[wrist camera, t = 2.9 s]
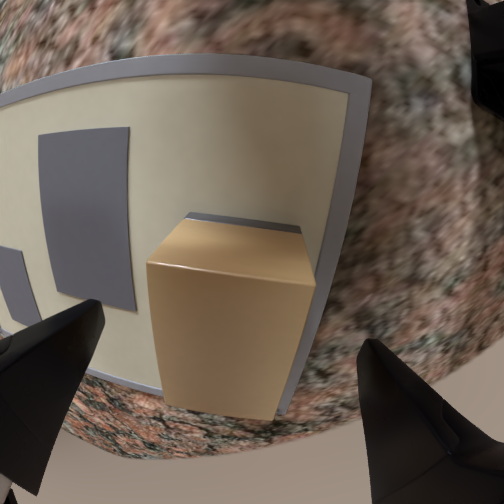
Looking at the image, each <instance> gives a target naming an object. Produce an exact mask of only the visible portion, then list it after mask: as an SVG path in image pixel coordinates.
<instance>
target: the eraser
mask: <svg viewBox="0 0 504 504" xmlns="http://www.w3.org/2000/svg"><path fill="white" fill-rule="evenodd" d="M146 273H147V286H148V296H149V306H150V315H151V323H152V331H153V338H154V345H155V352H156V358H157V364H158V370H159V375H160V381H161V386H162V391H163V396H164V401H165V404H166V405H170V406H174V407H179V408H183V409H188V410H193V411H199V412H204V413H210V414H216V415H223V416H230V417H237V418H246V419H255V420H267V421H273V420H274V417H275V415H276V412H277V409H278V406H279V404H280V401H281V398H282V395H283V393H284V390H285V387H286V384H287V381H288V378H289V375H290V372H291V369H292V366H293V363H294V360H295V357H296V354H297V351H298V348H299V345H300V341H301V338H302V335H303V332H304V328H305V325H306V322H307V318H308V315H309V311H310V308H311V304H312V301H313V297H314V294H315V290H316V286H317V285H316V281H315V277H314V274H313V270H312V266H311V263H310V259H309V256H308V252H307V248H306V245H305V241H304V238H303V235H302V231H301V228H300V226H297V225H290V224H283V223H275V222H268V221H261V220H253V219H245V218H238V217H230V216H221V215H213V214H204V213H196V212H189V213H188V214H187V215H186V216H185V217H184V219H183V220H182V221H181V222H180V223H179V224H178V225H177V226H176V227H175V228H174V229H173V231H172V232H171V233H170V234H169V235H168V236H167V237H166V238H165V240H164V241H163V242H162V243H161V244H160V245H159V246H158V248H157V249H156V250H155V251H154V252H153V253H152V255H151V256H150V257H149V258H148V259H147V261H146Z"/></svg>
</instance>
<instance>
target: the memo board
mask: <svg viewBox="0 0 504 504" xmlns="http://www.w3.org/2000/svg"><path fill="white" fill-rule="evenodd" d="M371 89H372V79H370V78H368V77H365V76H362V75H358V74H355V73H351V72H347V71H343V70H339V69H335V68H330V67H326V66H321V65H316V64H311V63H305V62H300V61H294V60H287V59H280V58H272V57H263V56H252V55H239V54H213V53H194V54H169V55H155V56H145V57H136V58H128V59H121V60H115V61H109V62H104V63H98V64H93V65H89V66H84V67H80V68H76V69H72V70H68V71H64V72H61V73H57V74H54V75H50V76H47V77H44V78H41V79H38V80H35V81H32V82H29V83H26V84H24V85H21V86H18V87H16V88H13V89H11V90H8V91H6V92H4V93H1V94H0V333H1V334H3V335H5V336H7V337H8V336H10V335H13V334H14V333H16V332H18V331H20V330H23V329H25V328H27V327H29V326H31V325H33V324H35V323H37V322H40V321H42V320H44V319H46V318H48V317H50V316H53V315H55V314H57V313H59V312H61V311H64V310H66V309H68V308H70V307H72V306H75V305H77V304H79V303H81V302H83V301H86V300H88V299H96V300H99V301H101V303H102V306H103V311H104V315H105V326H104V329H103V331H102V334H101V336H100V339H99V341H98V344H97V347H96V349H95V352H94V355H93V357H92V359H91V362H90V364H89V366H88V368H87V370H86V372H85V373H87V374H89V375H92V376H95V377H98V378H101V379H103V380H106V381H109V382H112V383H116V384H119V385H122V386H125V387H128V388H132V389H135V390H139V391H143V392H146V393H150V394H154V395H158V396H162V397H164V396H163V391H162V386H161V381H160V375H159V370H158V364H157V358H156V352H155V345H154V338H153V331H152V323H151V315H150V306H149V296H148V286H147V273H146V261H147V259H148V258H149V257H150V256H151V255H152V253H153V252H154V251H155V250H156V249H157V248H158V246H159V245H160V244H161V243H162V242H163V241H164V240H165V238H166V237H167V236H168V235H169V234H170V233H171V232H172V231H173V229H174V228H175V227H176V226H177V225H178V224H179V223H180V222H181V221H182V220H183V219H184V217H185V216H186V215H187V214H188V213H189V212H196V213H204V214H213V215H221V216H230V217H238V218H245V219H253V220H261V221H268V222H275V223H283V224H290V225H297V226H300V228H301V231H302V235H303V238H304V241H305V245H306V248H307V252H308V256H309V259H310V263H311V266H312V270H313V274H314V277H315V281H316V285H317V286H316V290H315V294H314V297H313V301H312V304H311V308H310V311H309V315H308V318H307V322H306V325H305V328H304V332H303V335H302V338H301V341H300V345H299V348H298V351H297V354H296V357H295V360H294V363H293V366H292V369H291V372H290V375H289V378H288V381H287V384H286V387H285V390H284V393H283V395H282V398H281V401H280V404H279V406H278V409H277V412H276V414H286V412H287V409H288V407H289V405H290V402H291V400H292V397H293V395H294V392H295V390H296V387H297V385H298V382H299V380H300V377H301V374H302V372H303V369H304V366H305V364H306V361H307V358H308V355H309V353H310V350H311V347H312V344H313V341H314V338H315V335H316V333H317V330H318V327H319V324H320V320H321V317H322V314H323V311H324V308H325V305H326V302H327V298H328V295H329V292H330V288H331V285H332V281H333V278H334V275H335V271H336V267H337V264H338V260H339V256H340V253H341V249H342V245H343V241H344V237H345V233H346V229H347V225H348V221H349V216H350V212H351V207H352V203H353V198H354V194H355V189H356V184H357V179H358V174H359V169H360V163H361V158H362V152H363V146H364V140H365V134H366V127H367V120H368V113H369V106H370V97H371Z"/></svg>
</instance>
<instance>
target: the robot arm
mask: <svg viewBox="0 0 504 504" xmlns="http://www.w3.org/2000/svg"><path fill="white" fill-rule="evenodd" d="M466 3H467V10H468V17H469V26H470V37H471V55H472V86H471V93H472V97H473V100H474V102H475V103H476V104H477V105H478V106H480V107H482V108H483V109H485V110H486V111H488V112H490V113H491V114H493V115H494V116H496V117H497V118H499V119H500V120H502V121H503V122H504V1H502V2H499V3H496V4H493V5H489V4H488V3H486V2H485V1H484V0H466ZM480 92H481V94H482V98H481V95H480ZM104 326H105V315H104V311H103V306H102V303H101V301H99V300H96V299H88V300H86V301H83V302H81V303H79V304H77V305H75V306H72V307H70V308H68V309H66V310H64V311H61V312H59V313H57V314H55V315H53V316H50V317H48V318H46V319H44V320H42V321H40V322H37V323H35V324H33V325H31V326H29V327H27V328H25V329H23V330H20V331H18V332H16V333H14V334H13V335H10V336H8V337H6V338H4V339H1V340H0V504H18V503H17V501H16V498H15V496H14V492H13V490H12V489H11V488H10V487H11V485H12V482H14V483H15V484H17V485H18V486H20V487H22V488H23V489H25V490H26V491H28V492H30V493H31V494H33V495H35V496H37V494H38V492H39V488H40V485H41V482H42V478H43V475H44V472H45V469H46V466H47V463H48V461H49V458H50V455H51V451H52V449H53V446H54V444H55V441H56V438H57V436H58V433H59V430H60V428H61V426H62V423H63V421H64V418H65V416H66V414H67V411H68V409H69V407H70V404H71V402H72V400H73V398H74V395H75V393H76V391H77V389H78V387H79V385H80V382H81V380H82V378H83V376H84V374H85V372H86V370H87V368H88V366H89V364H90V362H91V359H92V357H93V355H94V352H95V349H96V347H97V344H98V341H99V339H100V336H101V334H102V331H103V329H104ZM356 363H357V376H358V391H359V402H360V408H361V415H362V421H363V427H364V434H365V441H366V449H367V456H368V465H369V475H370V485H371V497H372V504H504V443H502V442H498V441H496V440H494V439H492V438H491V437H489V436H488V435H487V434H485V433H484V432H483V431H481V430H480V429H479V428H478V427H476V426H475V425H474V424H472V423H471V422H470V421H469V420H467V419H466V418H465V417H464V416H462V415H461V414H460V413H459V412H458V411H457V410H455V409H454V408H453V407H452V406H451V405H450V404H449V403H448V402H447V401H446V400H444V399H443V398H442V397H441V396H440V395H439V394H438V393H437V392H436V391H435V390H434V389H432V388H431V387H430V386H429V385H428V384H427V383H426V382H425V381H424V380H423V379H422V378H420V377H419V376H418V375H417V374H416V373H415V372H414V371H413V370H412V369H411V368H409V367H408V366H407V365H406V364H405V363H404V362H403V361H402V360H401V359H399V358H398V357H397V356H396V355H395V354H394V353H393V352H392V351H391V350H389V349H388V348H387V347H386V346H385V345H384V344H383V343H382V342H380V341H379V340H378V339H371V338H368V339H366V340H365V341H364V343H363V345H362V347H361V349H360V351H359V353H358V356H357V360H356Z"/></svg>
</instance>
